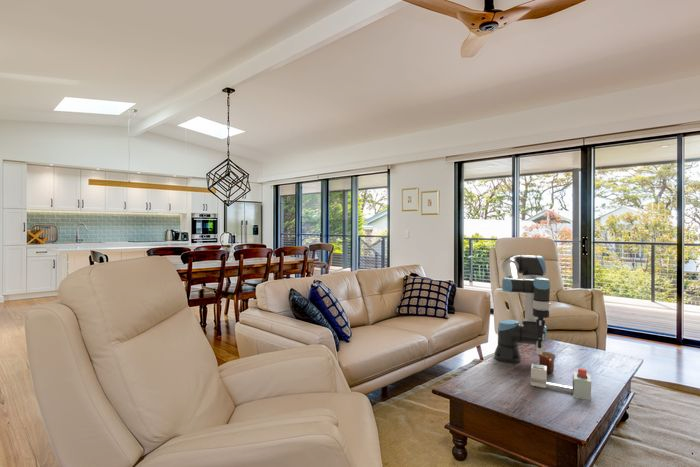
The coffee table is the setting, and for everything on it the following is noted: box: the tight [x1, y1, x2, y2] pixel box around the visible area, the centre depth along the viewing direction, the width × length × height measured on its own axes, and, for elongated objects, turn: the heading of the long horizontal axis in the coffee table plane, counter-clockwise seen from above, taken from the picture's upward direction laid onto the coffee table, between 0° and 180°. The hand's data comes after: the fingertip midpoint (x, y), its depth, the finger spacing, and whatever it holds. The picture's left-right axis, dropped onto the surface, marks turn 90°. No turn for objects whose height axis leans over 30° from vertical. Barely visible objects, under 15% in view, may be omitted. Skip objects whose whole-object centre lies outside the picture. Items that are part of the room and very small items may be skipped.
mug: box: [537, 351, 556, 376], centre depth 214 cm, size 12×9×10 cm
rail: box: [530, 381, 573, 395], centre depth 195 cm, size 20×2×2 cm, turn 62°
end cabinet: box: [572, 371, 592, 401], centre depth 189 cm, size 7×10×9 cm
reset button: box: [577, 368, 588, 377], centre depth 188 cm, size 4×4×3 cm
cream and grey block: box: [530, 363, 548, 389], centre depth 198 cm, size 7×7×9 cm
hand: (539, 350), depth 197 cm, fingers open, 13 cm apart
